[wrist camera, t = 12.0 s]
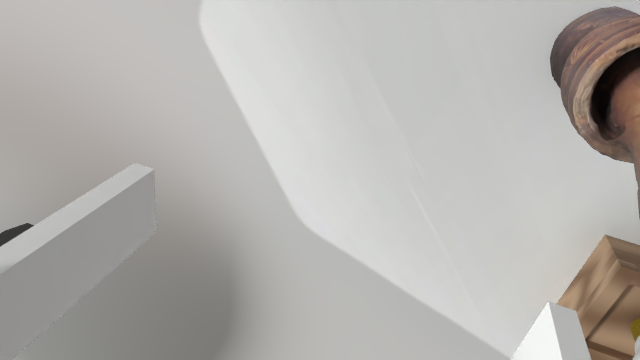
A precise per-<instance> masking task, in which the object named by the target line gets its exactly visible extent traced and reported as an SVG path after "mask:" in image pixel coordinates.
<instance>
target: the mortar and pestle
mask: <svg viewBox="0 0 640 360" xmlns="http://www.w3.org/2000/svg"><path fill="white" fill-rule="evenodd" d="M550 63H551V71H552V76H553V77H554V80H555V81H556V83H557V85H558V86H559V87H560V88H561V97H562V101H563V105H564V107H565V109H566V111H567V113H568V115H569V117H570V120H571V123H572V125H573V126H574V128H575V129H576V130H577V132H578V134H579V135H581V136H582V137H583V138H584V139H585V140H586V142H587V143H588V144H589V145H590V146H591V147H592V148H593V149H595V150H597V151H599V152H600V153H601V154H603V155H606V156H609V157H611V158H612V159H615V160H619V161H624V162H629V163H634V168H635V173H636V180H637V183H638V207H639V218H640V16H639V15H638V14H636V13H634V12H631V11H628V10H625V9H622V8H619V7H616V6H614V7H610V8H601V9H598V10H595V11H592V12H589V13H587V14H585V15H583V16H581V17H579V18H578V19H576V20H575V21H573V22H572V23H570V24H569V25H568V26H567V27H566V28H565V29H564V30H563V31H562V32H561V33H560V34H559V35H558V37H557V39H556V40H555V42H554V45H553V48H552V52H551V57H550Z"/></svg>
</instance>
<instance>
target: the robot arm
mask: <svg viewBox="0 0 640 360" xmlns="http://www.w3.org/2000/svg"><path fill="white" fill-rule="evenodd" d="M156 231H157V228H156V203H155V175H154V169H152V168H149V167H146V166H143V165H140V164H137V163H134V164H132V165H131V166H129V167H128V168H126V169H124V170H123V171H121V172H120V173H118V174H116V175H115V176H113V177H112V178H110V179H108V180H107V181H105V182H103V183H102V184H100V185H99V186H97V187H96V188H94V189H92V190H91V191H89V192H88V193H86V194H84V195H83V196H81V197H79V198H78V199H76V200H75V201H73V202H72V203H70V204H68V205H67V206H65V207H64V208H62V209H60V210H59V211H57V212H55V213H54V214H52V215H50V216H49V217H48V218H46V219H44V220H42V221H41V222H39V223H38V224H36V225H35V226H34V225H31V224H29V223H26V224H23V225H20V226H18V227H15V228H12V229H9V230H6V231H4V232H2V233H1V234H0V360H12V359H14V358H15V357H16V356H17V355H18V354H19V353H21V351H23V350H24V349H25V348H26V347H27V346H28V345H30V344H31V343H32V342H33V341H34V340H35V339H36V338H37V337H39V336H40V335H41V334H42V333H43V332H44V331H45V330H46V329H47V328H49V327H50V326H51V325H52V324H53V323H54V322H55V321H57V320H58V319H59V318H60V317H61V316H62V315H63V314H64V313H65V312H67V311H68V310H69V309H70V308H71V307H72V306H73V305H75V304H76V303H77V302H78V301H79V300H80V299H81V298H82V297H84V296H85V295H86V294H87V293H88V292H89V291H90V290H91V289H92V288H94V287H95V286H96V285H97V284H98V283H99V282H100V281H102V280H103V279H104V278H105V277H106V276H107V275H108V274H109V273H111V272H112V271H113V270H114V269H115V268H116V267H117V266H118V265H119V264H121V263H122V262H123V261H124V260H125V259H126V258H127V257H128V256H130V254H132V253H133V252H134V251H135V250H136V249H138V248H139V247H140V246H141V245H142V244H143V243H144V242H145V241H147V239H149V238H150V237H151V236H152V235H153V234H154V233H155V232H156ZM510 360H591V357H590V354H589V351H588V348H587V344H586V341H585V338H584V335H583V332H582V328H581V325H580V322H579V319H578V316H577V312H576V311H575V310H572V309H569V308H566V307H563V306H560V305H557V304H554V303H551V302H548V303H547V305H546V306H545V308H544V309H543V311H542V312H541V314H540V315H539V317H538V318H537V320H536V321H535V323H534V324H533V326H532V327H531V329H530V330H529V332H528V333H527V335H526V336H525V338H524V339H523V341H522V342H521V344H520V346H519V347H518V349H517V350H516V352H515V353H514V355H513V356H512V358H511V359H510Z"/></svg>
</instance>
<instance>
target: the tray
mask: <svg viewBox="0 0 640 360" xmlns="http://www.w3.org/2000/svg"><path fill="white" fill-rule="evenodd" d="M557 305H560V306H563V307H566V308H569V309H572V310H575V311H576V312H577V316H578V319H579V322H580V325H581V328H582V332H583V335H584V338H585V341H586V344H587V348H588V351H589V354H590V357H591V360H633V357H634V356H635V340H634V338H633V335H632V332H631V330H630V326H631V324H632V322H633V321H635V320H637V319H639V318H640V246H639V245H636V244H632V243H629V242H626V241H623V240H620V239H617V238H613V237H610V236H607V235H605V236H604V237H603V239H602V240H601V242H600V243H599V245H598V246H597V247H596V249H595V250H594V252H593V253H592V254H591V256H590V257H589V259H588V260H587V262H586V263H585V264H584V266H583V267H582V269H581V270H580V272H579V273H578V274H577V276H576V277H575V279H574V280H573V282H572V283H571V284H570V286H569V287H568V289H567V290H566V291H565V293H564V294H563V296H562V297H561V299H560V300H559V301H558V303H557Z"/></svg>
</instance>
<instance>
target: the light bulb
mask: <svg viewBox="0 0 640 360" xmlns="http://www.w3.org/2000/svg"><path fill="white" fill-rule="evenodd" d="M630 330H631V332H632V335H633V338H634V340H635V356H634V357H633V360H640V318H639V319H637V320H635V321H633V322H632V324H631V326H630Z"/></svg>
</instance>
